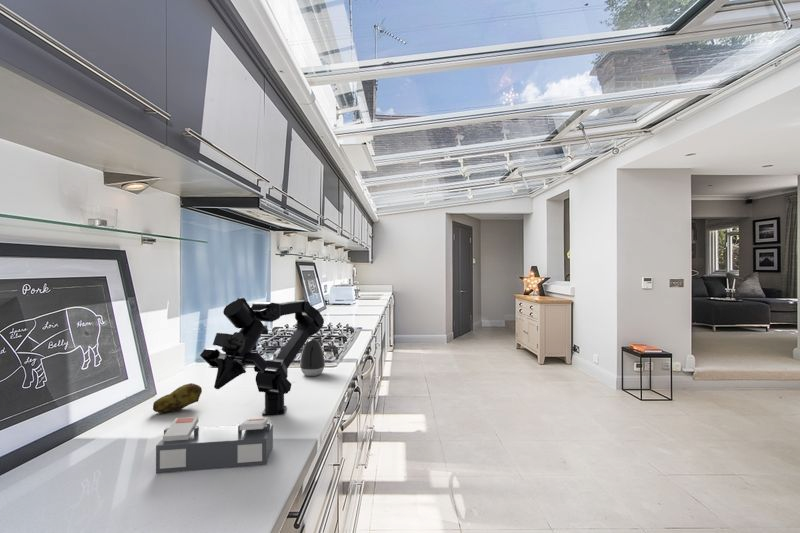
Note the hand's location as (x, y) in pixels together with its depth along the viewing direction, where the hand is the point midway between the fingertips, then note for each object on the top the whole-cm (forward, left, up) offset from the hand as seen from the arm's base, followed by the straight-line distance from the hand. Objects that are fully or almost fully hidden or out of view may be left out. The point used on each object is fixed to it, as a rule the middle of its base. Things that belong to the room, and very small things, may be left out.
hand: (216, 388), depth 101 cm
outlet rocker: (+10, -4, -6) cm, 13 cm away
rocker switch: (+10, +12, -6) cm, 17 cm away
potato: (-26, -18, -14) cm, 34 cm away
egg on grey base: (-62, +21, -14) cm, 66 cm away
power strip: (+10, +4, -14) cm, 17 cm away
